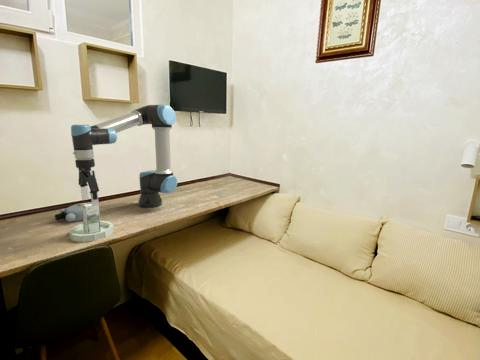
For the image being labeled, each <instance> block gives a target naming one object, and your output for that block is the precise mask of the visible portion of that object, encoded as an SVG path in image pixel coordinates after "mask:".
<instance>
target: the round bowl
mask: <svg viewBox="0 0 480 360" xmlns="http://www.w3.org/2000/svg"><path fill="white" fill-rule="evenodd" d="M114 225H115V224H114V223H112V222H111V221H110V220H109V221H108V220H100V228H101V231H100V232H96V233H93V234H87V233H86V232H84V225H83V223H80V224H77V225H75V226H73V227H72V228H71V229H70V230H69V231H68V234H69V238H70V239H71V241H72V242H79V243H85V242H95V241H99V240H102V239H106V238H107V237H109V236H111V235H112V234H113V233H114V230H115V226H114Z"/></svg>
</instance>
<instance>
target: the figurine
mask: <svg viewBox="0 0 480 360" xmlns="http://www.w3.org/2000/svg"><path fill="white" fill-rule="evenodd" d="M84 203H85V202H80V203H75V204H72V205H70V206H68V207H67V208H62V209H60V211H59V213H56V214H55V215H54V218H55V220H56V221H61V220H66V221H67V222H80V221H83V216H82V207H81V204H84Z"/></svg>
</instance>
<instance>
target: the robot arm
mask: <svg viewBox="0 0 480 360" xmlns="http://www.w3.org/2000/svg"><path fill="white" fill-rule="evenodd" d="M176 117H177V116H176V112H175V110H174V109H173V108H172V107H171V106H170V105H168V104H149V105H144V106H142V107H139V108H136V109H133V110H131V112H130V113H127V114H124V115H121V116H118V117H115V118H112V119H109V120H106V121H103V122H100V123H98V124H94V125H89V124H72V125H71V126H70V133H71V134H70V135H71V140H72V146H73V152H72V154H73V155H74V159H75V161H74V162H75V167H76V168H77V169H78V186H79V187H80V192H81V200H82V201H85V200H91V202H92V207H93V206H98V205H99V206H100V202H99V196H98V195H99V194H98V192H100V189H99V185H98V182H97V178H96V173H95V170H92V168H94V167H95V166H96V164H95V159H94V158H95V154H94V146H96V145H97V146H98V145H112V144H115V143H117V140H118V136H117V133H120V132H122V131H125V130H128V129H131V128H134V127H136V126H137V127H141V126H143V125H151V129H152V130H154V144H155V145H154V147H155V149H154V150H155V165H156V167H155V168H156V169H154V170H146V171H144V170H143V171H141V172H140V173H139V177H138V179H139V190H140V195H139V199H138V204H137V205H138V207H139V208H143V209H145V208H146V209H151V208H152V209H153V208H157V207H160V206H162V205H163V200H162V197H161V195H160V193H162V194H171V193H173V192H174V191H175V189H177V186H178V179H177V177H176V176H175V175H174V171H173V170H172V169H171V166H172V165H171V143H170V142H171V141H170V139H171V138H170V130H171V129H172V128H173V126H172V125H173V124H175V122H176ZM88 187H89V189H88ZM89 190H90V191H89ZM89 194H90V197H89Z"/></svg>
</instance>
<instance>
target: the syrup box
mask: <svg viewBox="0 0 480 360" xmlns="http://www.w3.org/2000/svg"><path fill="white" fill-rule="evenodd" d="M83 203H84V204H81V207H82V216H83V220H82V224H83V225H84V232H86V233H87V234H93V233H96V232H100V231H101V228H100V221H101V219H100V207H99V206H100V204H99V205H98V206H93V207H92V202H83Z"/></svg>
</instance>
